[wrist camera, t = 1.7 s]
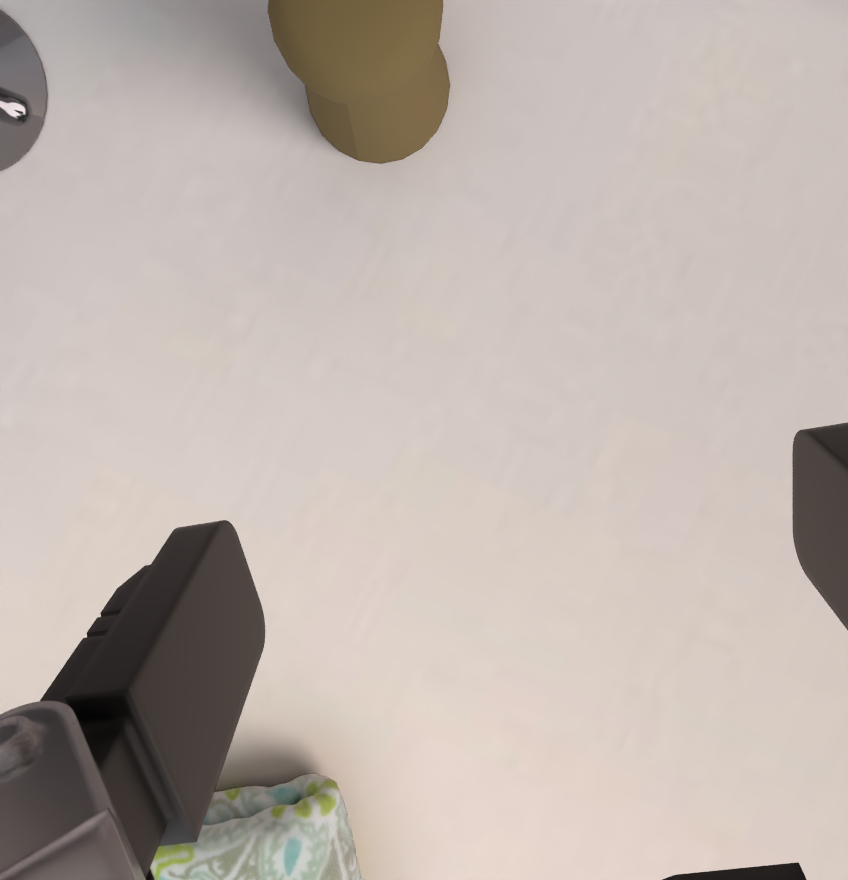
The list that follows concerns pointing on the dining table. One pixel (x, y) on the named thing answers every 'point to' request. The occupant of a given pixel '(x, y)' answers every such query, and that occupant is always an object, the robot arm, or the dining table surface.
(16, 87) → the wine glass
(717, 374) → the dining table surface
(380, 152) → the cork
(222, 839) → the towel
